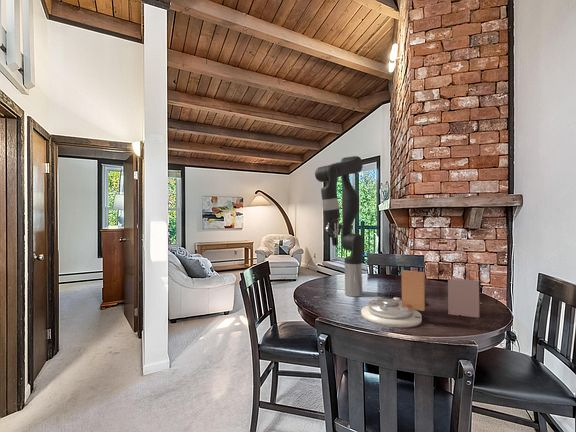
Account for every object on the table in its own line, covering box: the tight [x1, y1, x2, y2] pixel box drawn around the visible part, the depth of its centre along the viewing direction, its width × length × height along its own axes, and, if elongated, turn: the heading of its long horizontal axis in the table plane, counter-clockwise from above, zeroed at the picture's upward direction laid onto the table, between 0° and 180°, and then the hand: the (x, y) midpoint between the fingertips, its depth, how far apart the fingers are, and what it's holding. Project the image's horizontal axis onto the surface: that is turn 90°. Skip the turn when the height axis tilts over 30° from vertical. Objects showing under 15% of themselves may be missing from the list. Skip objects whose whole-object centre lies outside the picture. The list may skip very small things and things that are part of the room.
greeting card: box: [447, 276, 480, 318], centre depth 127 cm, size 11×7×15 cm, turn 32°
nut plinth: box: [360, 305, 423, 329], centre depth 125 cm, size 24×24×2 cm
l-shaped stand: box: [367, 269, 426, 319], centre depth 124 cm, size 22×18×18 cm
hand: (335, 245), depth 139 cm, fingers closed
